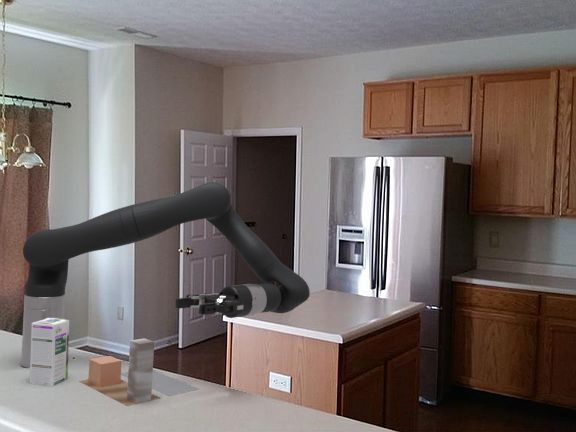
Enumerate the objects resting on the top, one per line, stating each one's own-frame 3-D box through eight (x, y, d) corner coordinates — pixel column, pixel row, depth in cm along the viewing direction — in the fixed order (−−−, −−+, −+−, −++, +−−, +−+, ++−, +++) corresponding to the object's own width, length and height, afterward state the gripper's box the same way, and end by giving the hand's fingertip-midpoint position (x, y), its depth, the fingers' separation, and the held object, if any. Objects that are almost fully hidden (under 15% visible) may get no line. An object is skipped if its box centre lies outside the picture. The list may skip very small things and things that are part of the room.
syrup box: (52, 391, 126) (55, 323, 126) (28, 388, 127) (31, 321, 127) (67, 383, 132) (70, 319, 132) (44, 380, 133) (47, 316, 133)
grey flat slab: (118, 377, 138) (119, 367, 138) (148, 372, 144) (148, 361, 144) (168, 400, 124) (169, 388, 124) (199, 393, 130) (199, 382, 130)
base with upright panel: (78, 385, 131) (81, 327, 130) (111, 379, 136) (113, 323, 136) (126, 410, 117) (130, 345, 117) (160, 402, 123) (164, 340, 122)
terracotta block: (88, 381, 131) (89, 359, 130) (108, 377, 134) (109, 355, 134) (99, 387, 127) (100, 364, 127) (120, 383, 131) (121, 360, 131)
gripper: (224, 280, 145) (169, 285, 134) (264, 288, 136) (209, 294, 124) (223, 311, 146) (168, 318, 134) (263, 321, 136) (207, 329, 124)
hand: (188, 306), depth 129 cm, fingers open, 8 cm apart
